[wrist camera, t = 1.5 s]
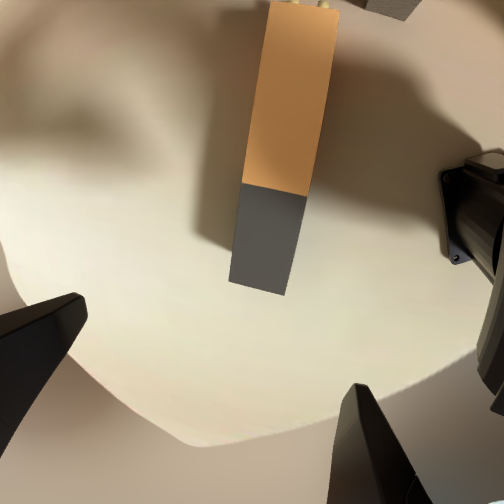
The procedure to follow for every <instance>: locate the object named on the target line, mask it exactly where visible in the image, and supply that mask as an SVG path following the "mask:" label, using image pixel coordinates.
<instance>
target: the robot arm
mask: <svg viewBox="0 0 504 504" xmlns="http://www.w3.org/2000/svg"><path fill="white" fill-rule="evenodd" d="M446 174H447V175H448V179H447V180H446V181H444V175H446ZM438 181H439V187H440V192H441V198H442V204H443V211H444V218H445V226H446V235H447V245H448V257H449V260H450V262H451V263H452V264H454V265H457V264H460V263H464V262H467V261H470V260H473V262H474V263H475V264H476V265H477V266H478V267H479V269H480V270H481V271H482V272H483V273H484V275H485V276H486V277H487V278H488V280H489V281H490V282H491V283H492V285H493V289H492V293H491V297H490V301H489V305H488V309H487V312H486V316H485V319H484V323H483V326H482V329H481V332H480V336H479V339H478V342H477V355H478V362H479V364H478V367H477V371H478V373H479V375H480V377H481V379H482V381H483V382H484V383H485V384H486V386H487V387H488V389H489V390H490V391H491V392H492V393H493V394H494V395H495V398H494V400H493V402H492V403H491V405H490V410H491V411H493V412H495V413H497V414H500V415H502V416H504V155H501V154H498V153H488V154H484V155H479V156H475V157H470V158H466V159H465V161H464V164H463V165H459V166H455V167H451V168H447V169H443V170H441V171H440V172H439V174H438ZM455 255H457V258H455V259H454V256H455ZM87 318H88V312H87V308H86V302H85V298H84V297H83V296H82V295H80V294H78V293H75V292H73V293H70V294H66V295H63V296H60V297H57V298H53V299H50V300H47V301H44V302H40V303H37V304H34V305H31V306H27V307H24V308H21V309H18V310H15V311H12V312H9V313H5V314H2V315H0V458H1V456H2V454H3V452H4V450H5V449H6V447H7V445H8V443H9V442H10V440H11V438H12V436H13V435H14V432H15V431H16V429H17V428H18V426H19V424H20V423H21V421H22V419H23V418H24V416H25V414H26V413H27V411H28V410H29V408H30V407H31V405H32V404H33V402H34V400H35V399H36V397H37V396H38V394H39V393H40V391H41V390H42V388H43V387H44V385H45V384H46V382H47V381H48V380H49V378H50V377H51V375H52V374H53V372H54V371H55V369H56V368H57V367H58V365H59V364H60V362H61V361H62V360H63V358H64V357H65V355H66V354H67V352H68V351H69V349H70V348H71V346H72V344H73V342H74V341H75V339H76V337H77V336H78V334H79V332H80V331H81V329H82V327H83V326H84V324H85V322H86V321H87ZM327 504H433V503H432V501H431V500H430V498H429V496H428V495H427V493H426V491H425V489H424V487H423V486H422V484H421V482H420V480H419V478H418V476H417V475H416V472H415V471H414V469H413V467H412V465H411V463H410V461H409V459H408V457H407V455H406V454H405V452H404V450H403V448H402V446H401V444H400V443H399V441H398V439H397V437H396V435H395V434H394V432H393V430H392V428H391V426H390V424H389V423H388V421H387V419H386V417H385V415H384V414H383V412H382V410H381V408H380V407H379V405H378V403H377V401H376V399H375V398H374V396H373V394H372V392H371V391H370V389H369V387H368V386H367V385H365V384H359V383H354V384H353V385H352V386H351V388H350V389H349V391H348V392H347V394H346V395H345V397H344V398H343V400H342V403H341V408H340V414H339V420H338V425H337V430H336V436H335V440H334V445H333V453H332V464H331V473H330V482H329V490H328V498H327Z"/></svg>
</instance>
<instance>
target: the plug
mask: <svg viewBox="0 0 504 504" xmlns="http://www.w3.org/2000/svg"><path fill="white" fill-rule="evenodd" d="M299 2H300V0H289V1H288V3H286V2H274V1H271V3H270V9H269V15H268V20H267V26H266V32H265V37H264V43H263V49H262V55H261V61H260V67H259V73H258V79H257V85H256V92H255V98H254V104H253V110H252V117H251V123H250V130H249V136H248V143H247V150H246V157H245V163H244V170H243V177H242V184H241V191H240V198H239V205H238V213H237V220H236V227H235V235H234V242H233V250H232V258H231V265H230V273H229V282H232V283H236V284H240V285H244V286H248V287H252V288H256V289H260V290H263V291H267V292H271V293H275V294H280V295H284V294H285V291H286V287H287V283H288V279H289V275H290V271H291V267H292V262H293V258H294V254H295V250H296V246H297V241H298V237H299V233H300V228H301V224H302V219H303V215H304V210H305V206H306V201H307V196H308V192H309V187H310V182H311V177H312V173H313V168H314V163H315V158H316V153H317V148H318V142H319V137H320V132H321V127H322V121H323V116H324V110H325V104H326V99H327V93H328V87H329V81H330V75H331V69H332V62H333V56H334V49H335V42H336V36H337V28H338V20H339V12H340V11H339V10H334V9H329V3H328V2H326V1H318V7H317V6H311V5H303V4H299Z"/></svg>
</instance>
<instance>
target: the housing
mask: <svg viewBox="0 0 504 504" xmlns="http://www.w3.org/2000/svg"><path fill="white" fill-rule="evenodd" d="M421 1H422V0H366V6H365V10H368V11H372V12H376V13H379V14H383V15H386V16H389V17H393V18H396V19H399V20H402V21H405V20H406V19H407V18H408V16H409V15H410V14H411V13H412V12H413V10H414V9H415V8H416V7H417V5H418V4H419V3H420V2H421Z"/></svg>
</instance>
